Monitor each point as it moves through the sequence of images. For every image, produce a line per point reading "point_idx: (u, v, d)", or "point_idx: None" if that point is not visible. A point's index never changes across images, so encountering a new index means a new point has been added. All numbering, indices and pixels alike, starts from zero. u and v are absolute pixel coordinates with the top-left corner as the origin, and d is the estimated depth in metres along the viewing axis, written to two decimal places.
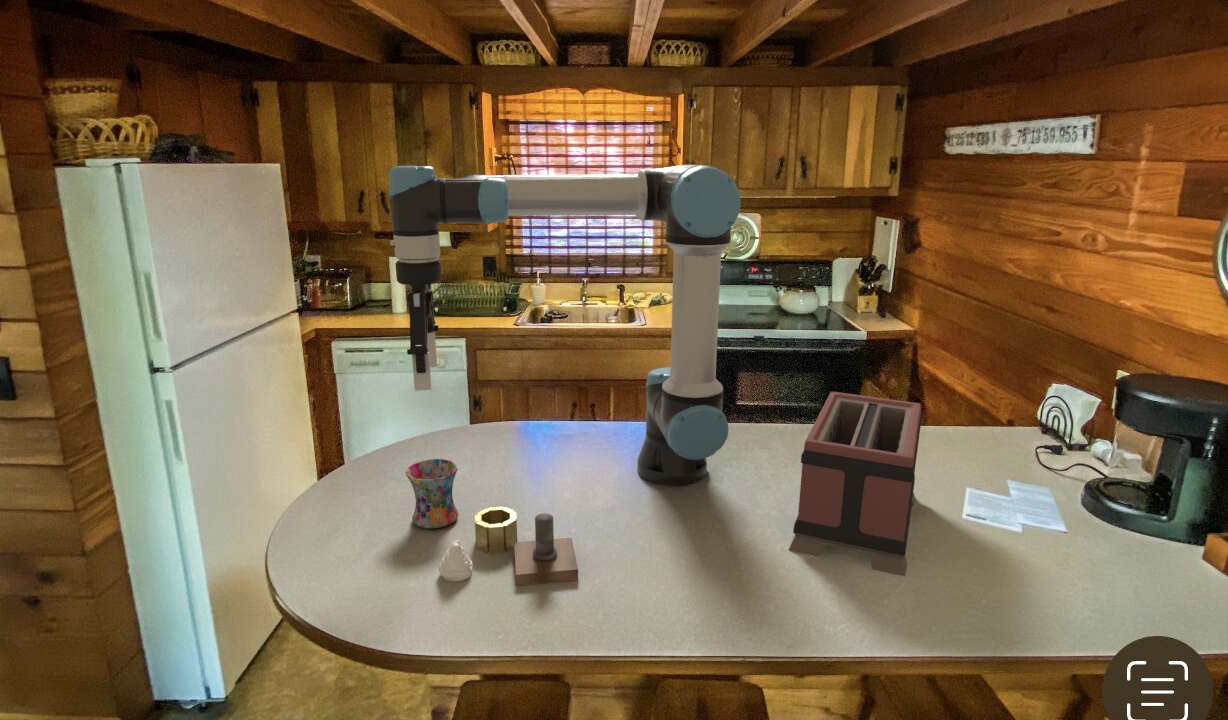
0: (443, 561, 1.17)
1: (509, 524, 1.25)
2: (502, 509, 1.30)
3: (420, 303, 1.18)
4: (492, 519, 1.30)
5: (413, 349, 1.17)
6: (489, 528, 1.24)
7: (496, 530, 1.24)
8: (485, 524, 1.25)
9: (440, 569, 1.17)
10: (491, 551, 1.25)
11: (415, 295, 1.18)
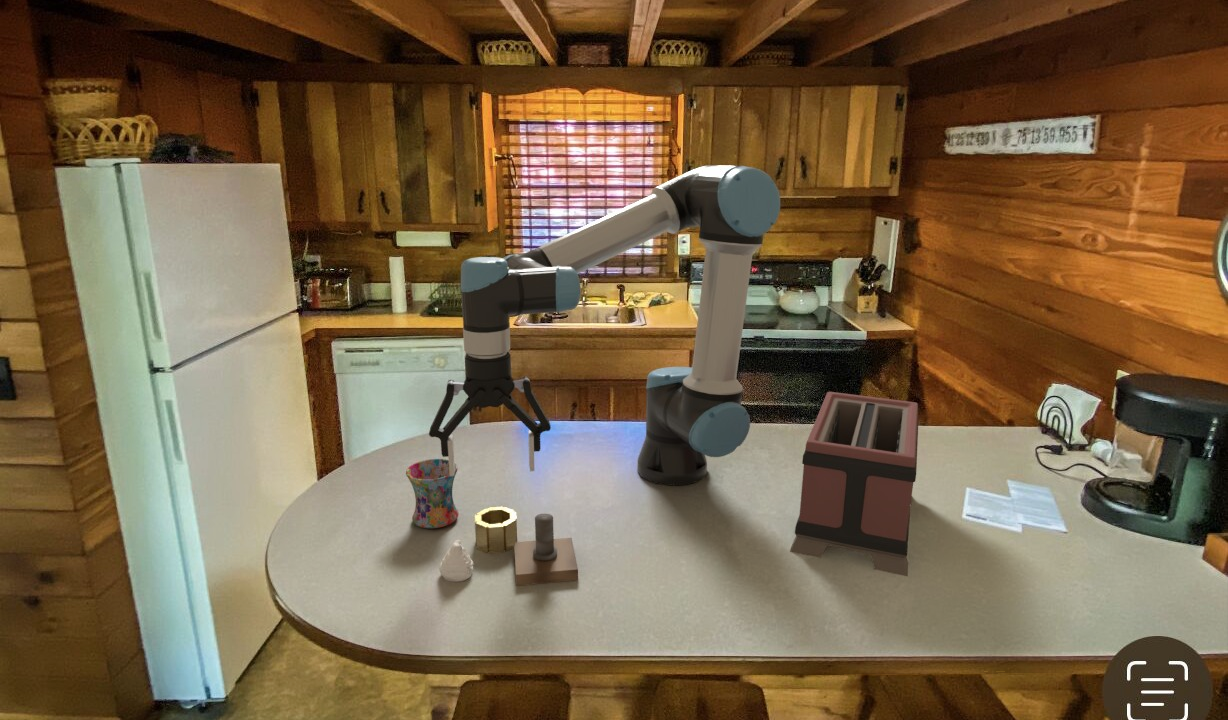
0: (444, 561, 1.17)
1: (509, 524, 1.25)
2: (502, 509, 1.30)
3: None
4: (492, 519, 1.30)
5: (430, 428, 1.21)
6: (489, 528, 1.24)
7: (496, 530, 1.24)
8: (485, 524, 1.25)
9: (440, 569, 1.17)
10: (491, 551, 1.25)
11: (448, 382, 1.19)
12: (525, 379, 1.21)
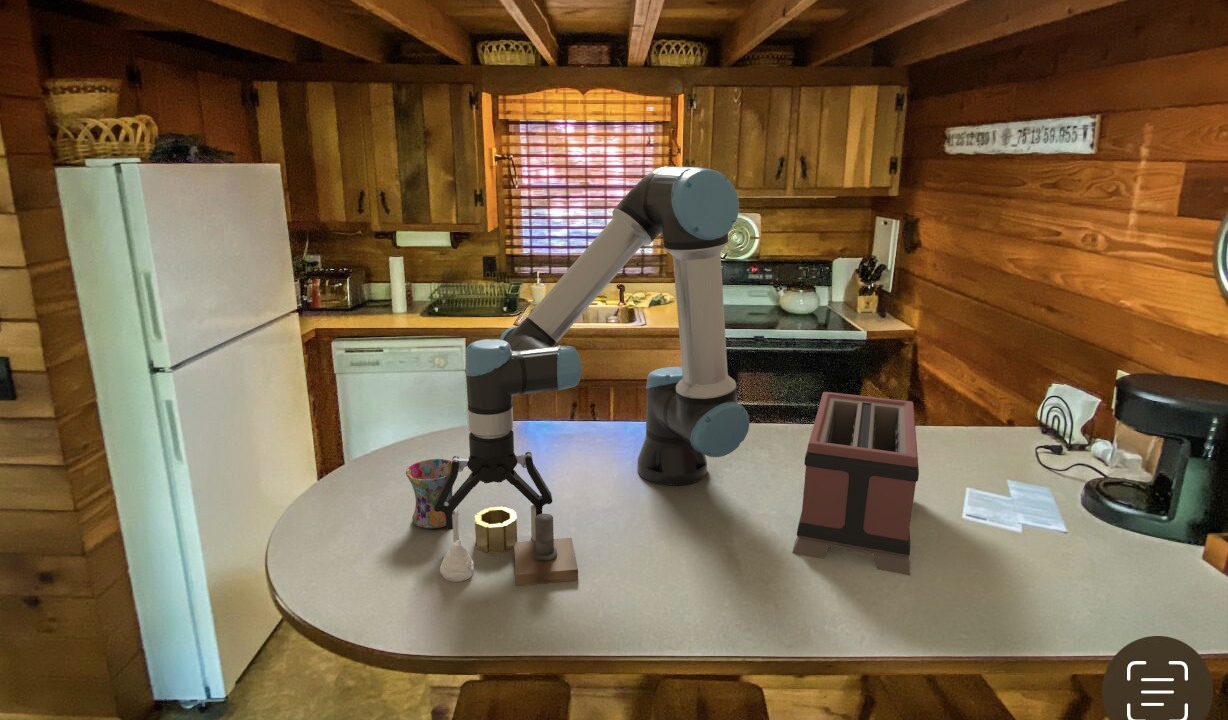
0: (444, 561, 1.17)
1: (509, 524, 1.25)
2: (502, 509, 1.30)
3: (451, 468, 1.23)
4: (492, 519, 1.30)
5: (435, 502, 1.25)
6: (489, 528, 1.24)
7: (496, 530, 1.24)
8: (485, 524, 1.25)
9: (441, 569, 1.17)
10: (491, 551, 1.25)
11: (453, 459, 1.23)
12: (527, 455, 1.25)
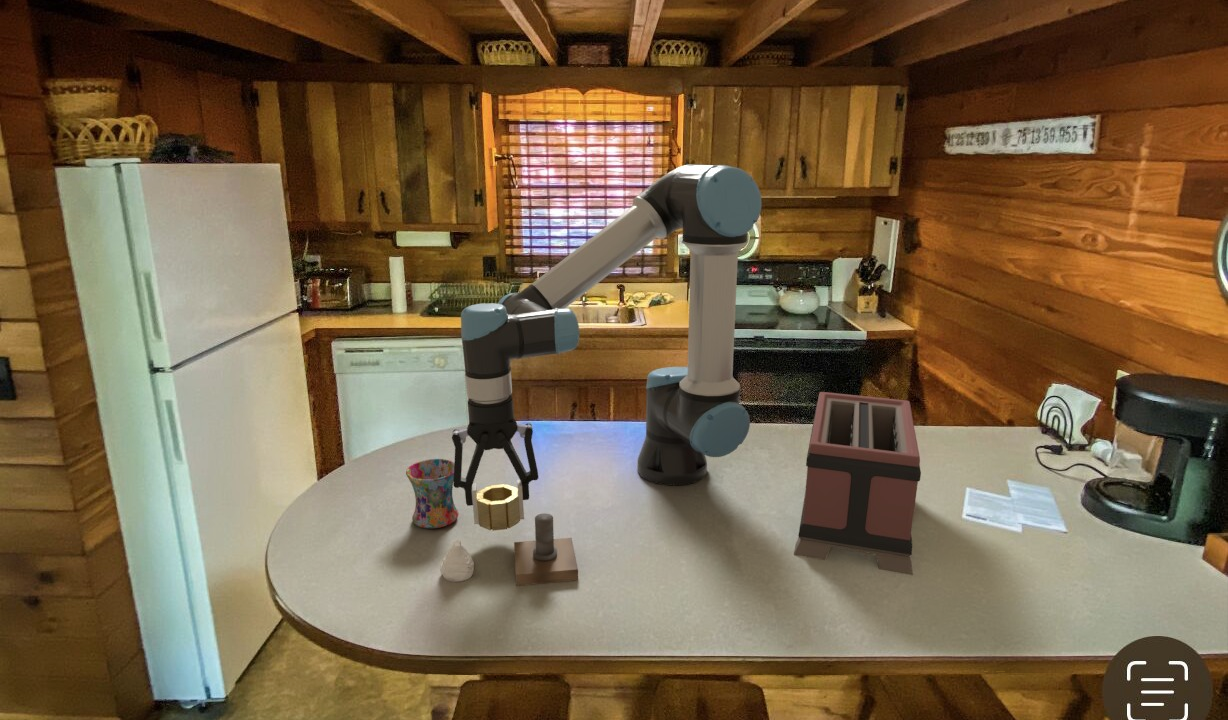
0: (444, 561, 1.17)
1: (511, 501, 1.24)
2: (504, 486, 1.29)
3: None
4: (494, 497, 1.29)
5: None
6: (491, 505, 1.23)
7: (498, 507, 1.23)
8: (487, 501, 1.24)
9: (441, 569, 1.17)
10: (494, 528, 1.24)
11: (452, 433, 1.22)
12: (529, 426, 1.23)
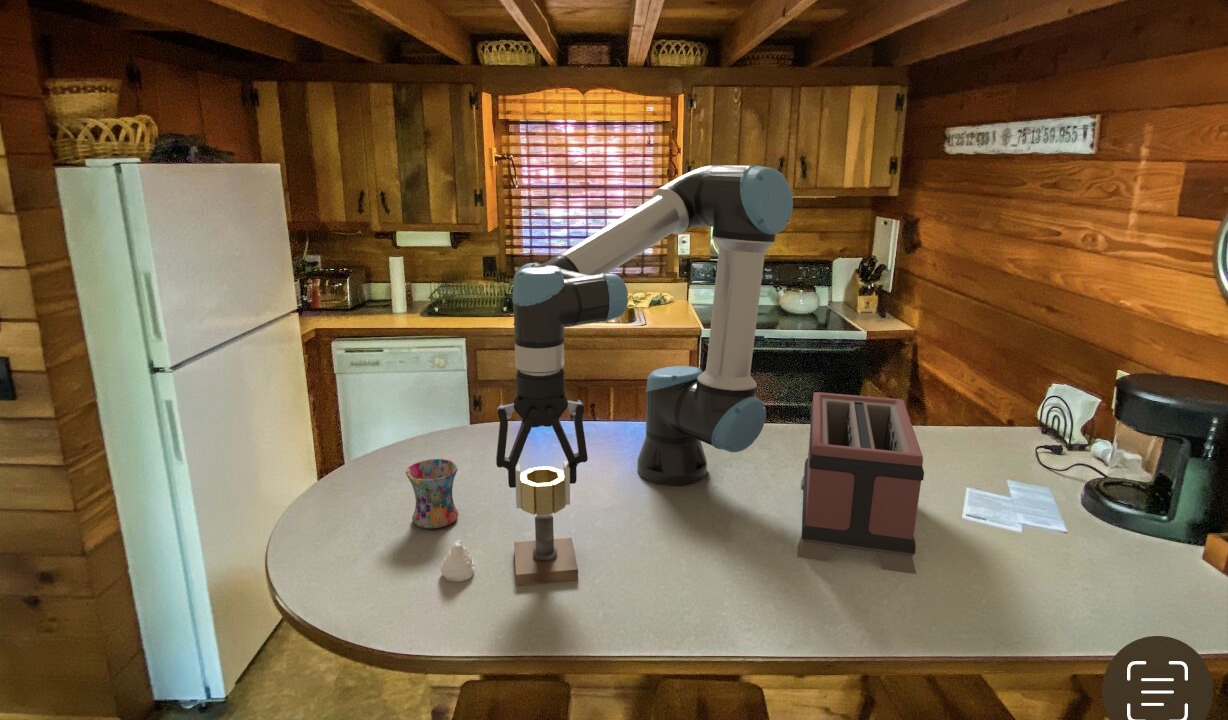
0: (445, 561, 1.17)
1: (558, 483, 1.14)
2: (548, 469, 1.19)
3: (499, 417, 1.12)
4: (537, 480, 1.19)
5: (496, 459, 1.15)
6: (537, 487, 1.13)
7: (544, 489, 1.13)
8: (532, 483, 1.14)
9: (441, 569, 1.17)
10: (538, 513, 1.14)
11: (498, 407, 1.12)
12: (580, 402, 1.14)
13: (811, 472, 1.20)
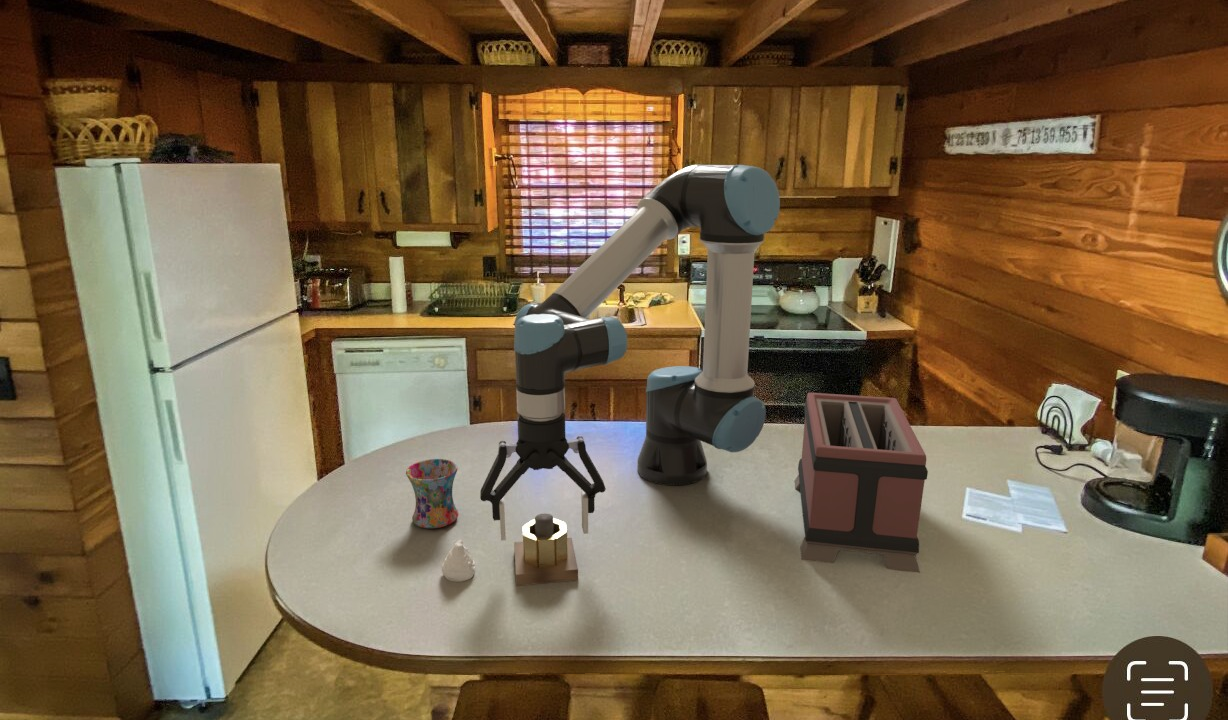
0: (446, 561, 1.17)
1: (560, 537, 1.17)
2: None
3: (498, 453, 1.14)
4: None
5: (480, 491, 1.16)
6: (539, 541, 1.16)
7: (546, 543, 1.16)
8: (534, 537, 1.17)
9: (442, 569, 1.17)
10: (541, 565, 1.17)
11: (500, 444, 1.14)
12: (580, 439, 1.16)
13: (815, 474, 1.20)
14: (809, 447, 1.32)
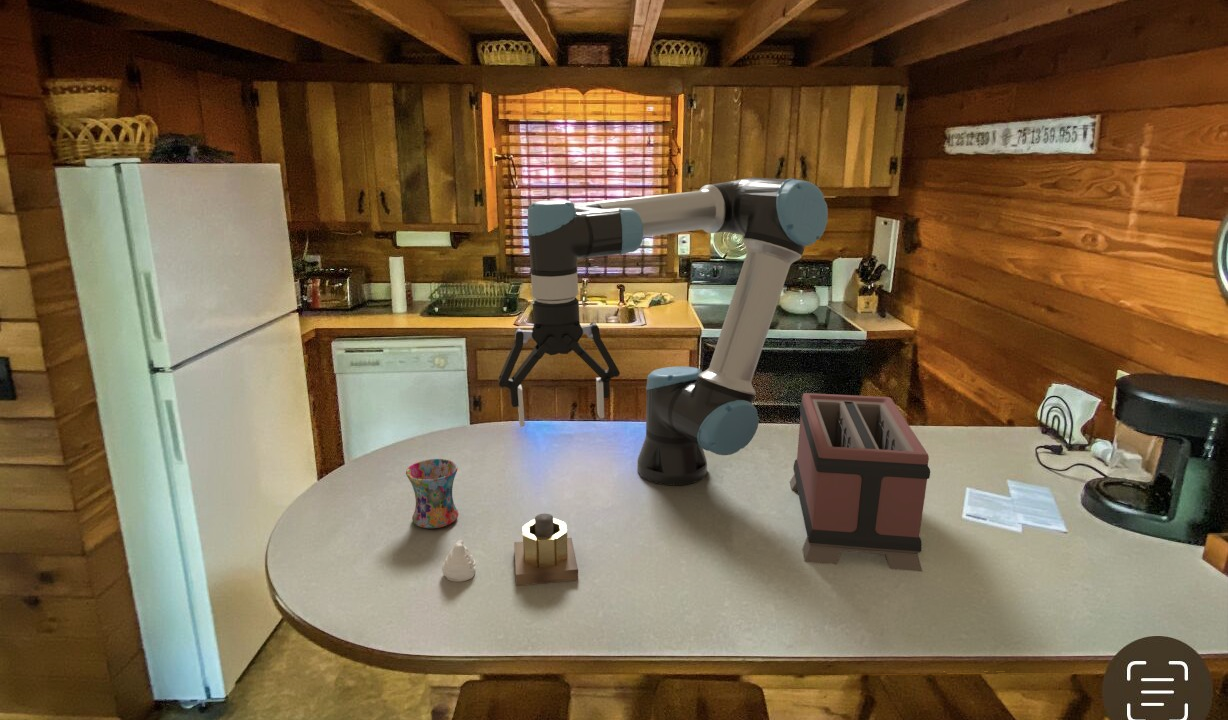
0: (446, 561, 1.17)
1: (560, 537, 1.17)
2: None
3: (515, 339, 1.17)
4: None
5: (498, 379, 1.20)
6: (539, 541, 1.16)
7: (546, 543, 1.16)
8: (534, 537, 1.17)
9: (443, 569, 1.17)
10: (541, 565, 1.17)
11: (516, 330, 1.17)
12: (593, 324, 1.19)
13: (818, 475, 1.19)
14: (808, 448, 1.32)
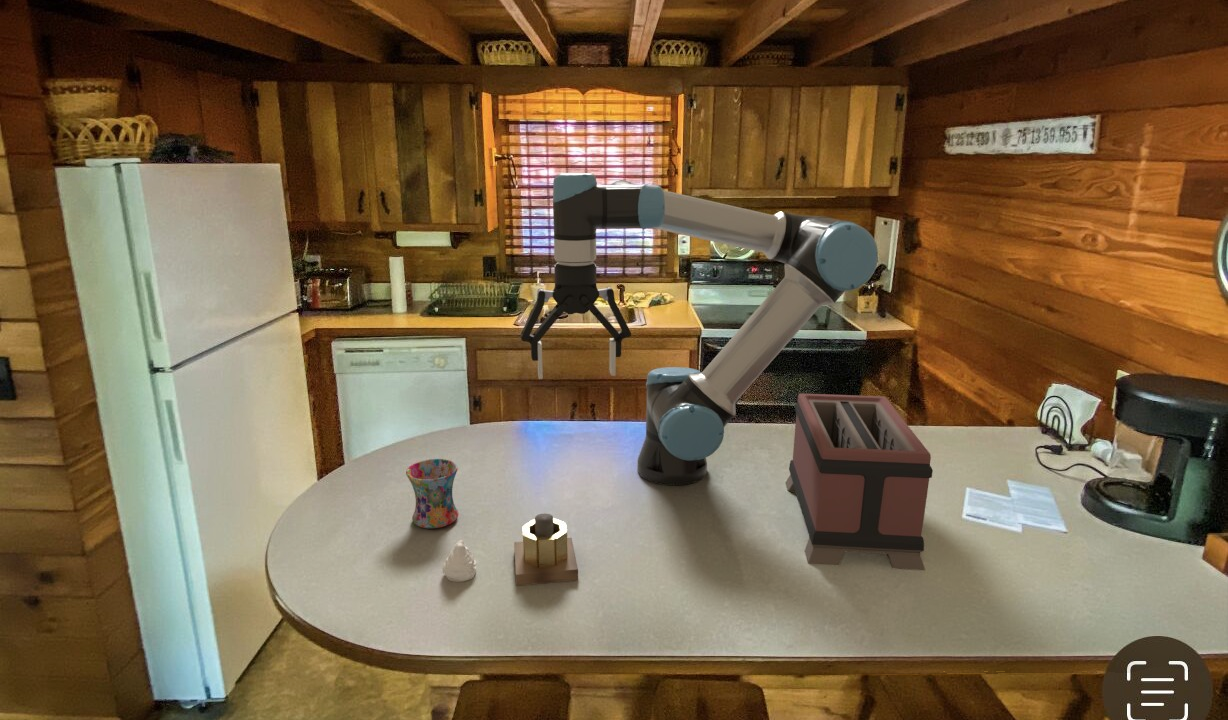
0: (447, 561, 1.17)
1: (560, 537, 1.17)
2: None
3: (537, 298, 1.29)
4: None
5: (521, 334, 1.32)
6: (539, 541, 1.16)
7: (546, 543, 1.16)
8: (534, 537, 1.17)
9: (444, 569, 1.17)
10: (541, 565, 1.17)
11: (539, 290, 1.29)
12: (609, 287, 1.31)
13: (821, 477, 1.19)
14: (807, 449, 1.32)
